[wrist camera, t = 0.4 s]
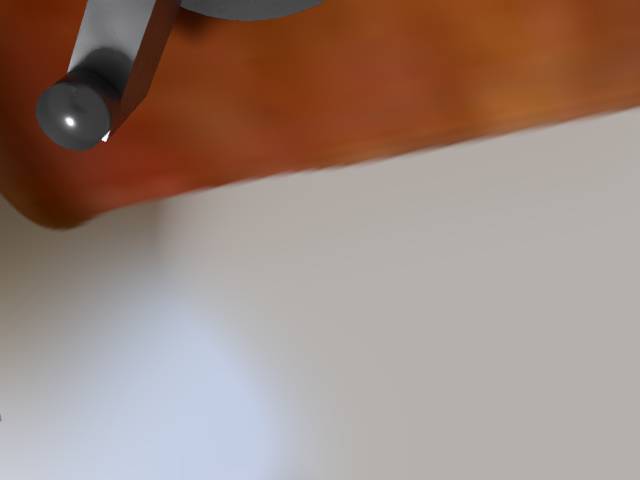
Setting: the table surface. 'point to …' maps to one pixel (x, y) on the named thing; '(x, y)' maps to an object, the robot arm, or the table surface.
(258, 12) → the post plate
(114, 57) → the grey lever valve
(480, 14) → the table surface
